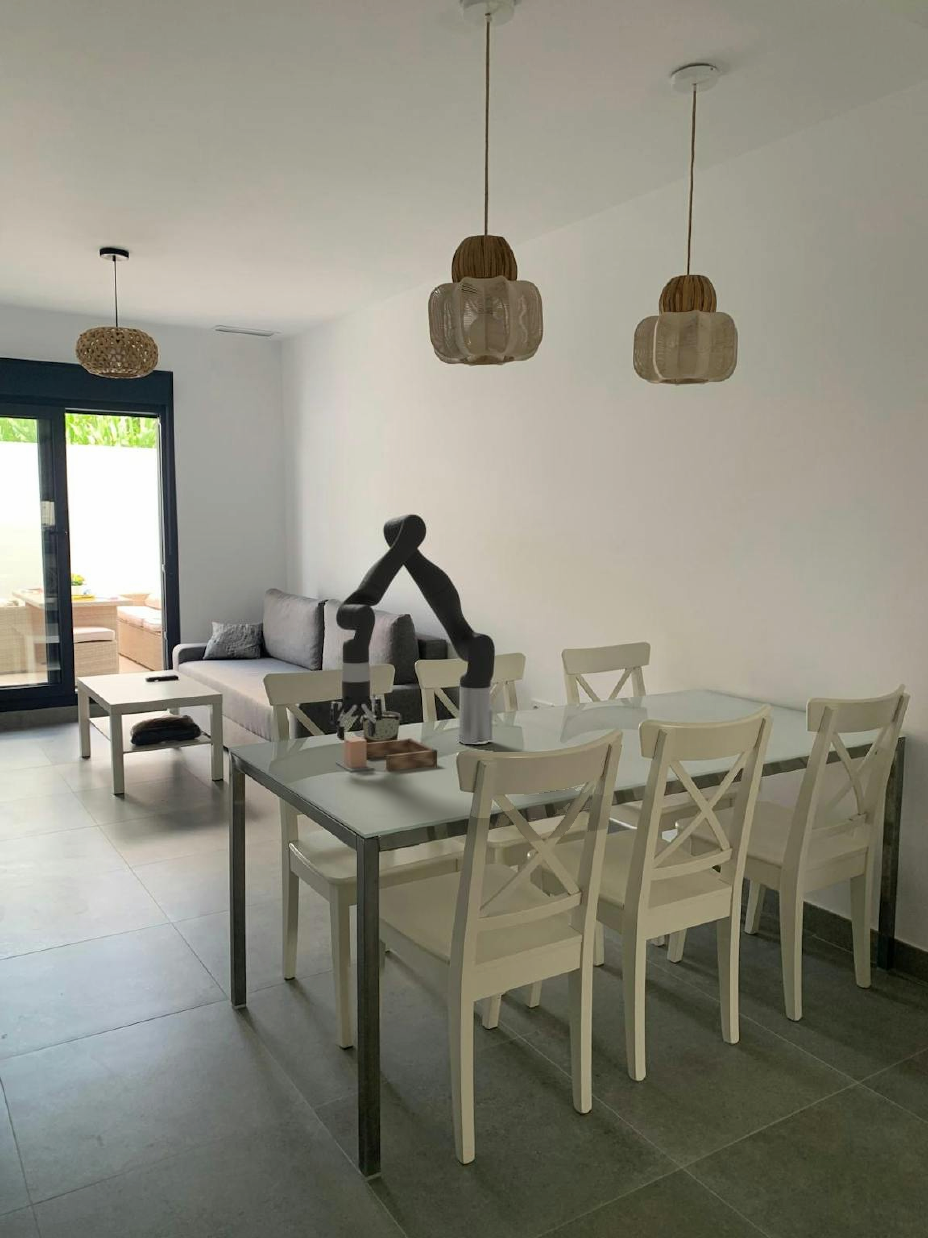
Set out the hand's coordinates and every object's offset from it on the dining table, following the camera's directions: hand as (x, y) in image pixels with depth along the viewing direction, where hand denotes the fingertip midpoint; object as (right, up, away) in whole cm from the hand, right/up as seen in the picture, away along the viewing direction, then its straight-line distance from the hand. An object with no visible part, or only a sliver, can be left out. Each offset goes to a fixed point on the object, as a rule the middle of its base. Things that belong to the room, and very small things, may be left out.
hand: (356, 738), depth 259 cm
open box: (+11, -7, +7) cm, 15 cm away
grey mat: (0, -8, +1) cm, 8 cm away
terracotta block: (0, -7, +1) cm, 7 cm away
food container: (+4, -6, +25) cm, 26 cm away
